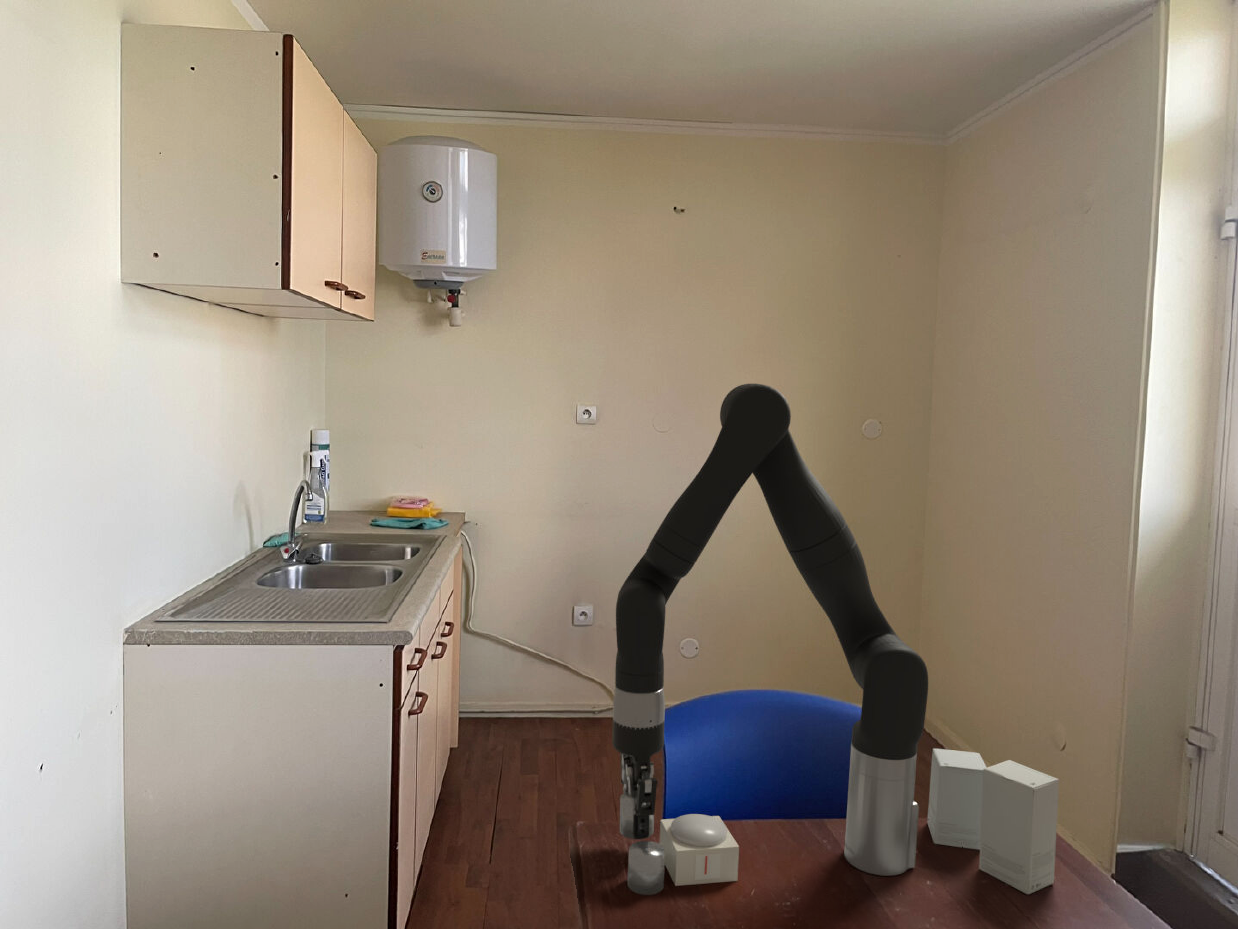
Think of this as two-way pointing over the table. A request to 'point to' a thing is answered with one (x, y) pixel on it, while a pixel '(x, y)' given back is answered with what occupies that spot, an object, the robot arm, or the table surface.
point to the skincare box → (1019, 825)
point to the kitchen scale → (699, 850)
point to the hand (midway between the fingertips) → (636, 827)
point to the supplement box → (956, 798)
